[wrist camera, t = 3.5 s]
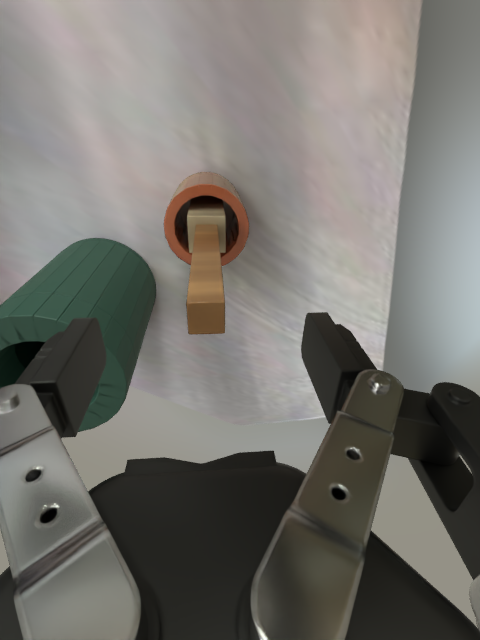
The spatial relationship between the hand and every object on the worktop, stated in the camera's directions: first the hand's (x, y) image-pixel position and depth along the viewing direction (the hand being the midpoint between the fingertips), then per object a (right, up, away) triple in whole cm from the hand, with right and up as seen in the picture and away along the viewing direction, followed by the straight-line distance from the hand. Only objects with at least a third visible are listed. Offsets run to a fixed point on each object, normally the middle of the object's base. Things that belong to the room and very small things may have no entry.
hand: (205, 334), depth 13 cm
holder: (-2, +11, +18) cm, 22 cm away
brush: (-2, +11, +18) cm, 21 cm away
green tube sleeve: (-13, +4, +22) cm, 26 cm away
